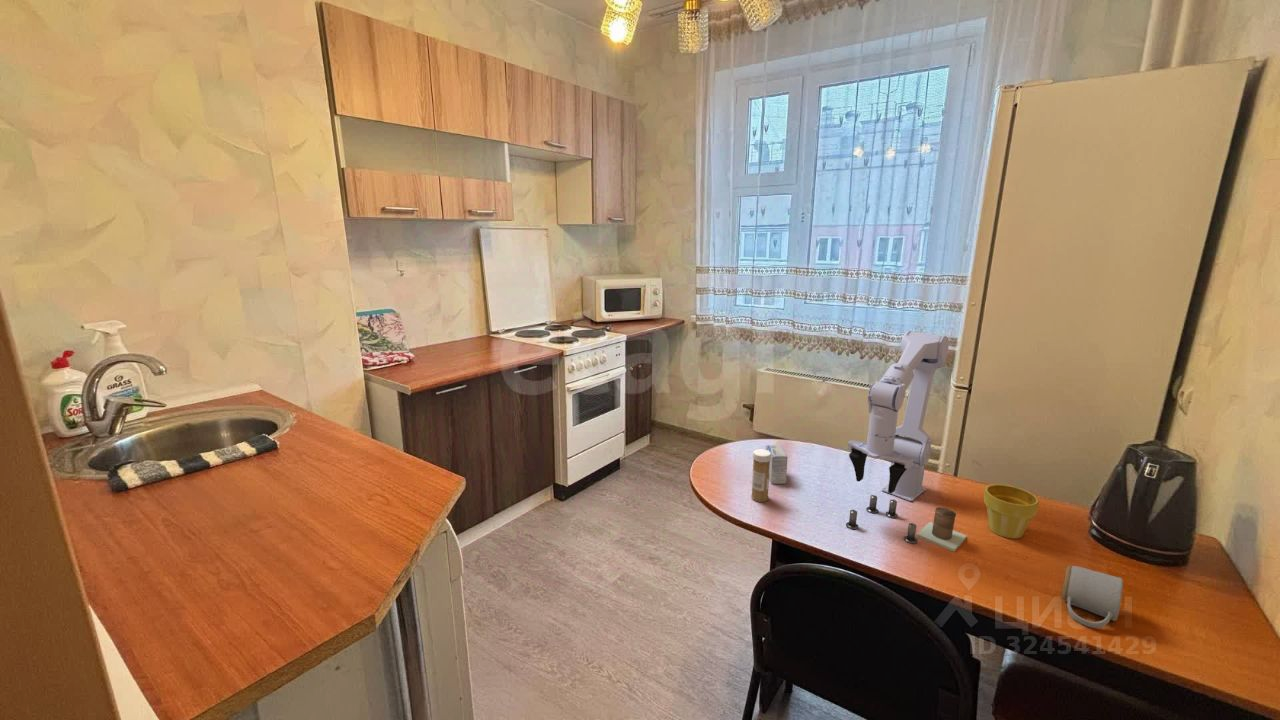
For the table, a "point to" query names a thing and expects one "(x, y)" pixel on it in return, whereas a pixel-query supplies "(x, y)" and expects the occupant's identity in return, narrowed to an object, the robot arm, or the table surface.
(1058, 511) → the table surface
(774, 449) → the medicine box
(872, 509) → the slalom posts
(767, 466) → the sprinkles bottle
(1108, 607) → the ceramic mug
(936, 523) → the walnut peg
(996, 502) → the plant pot
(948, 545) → the pad
